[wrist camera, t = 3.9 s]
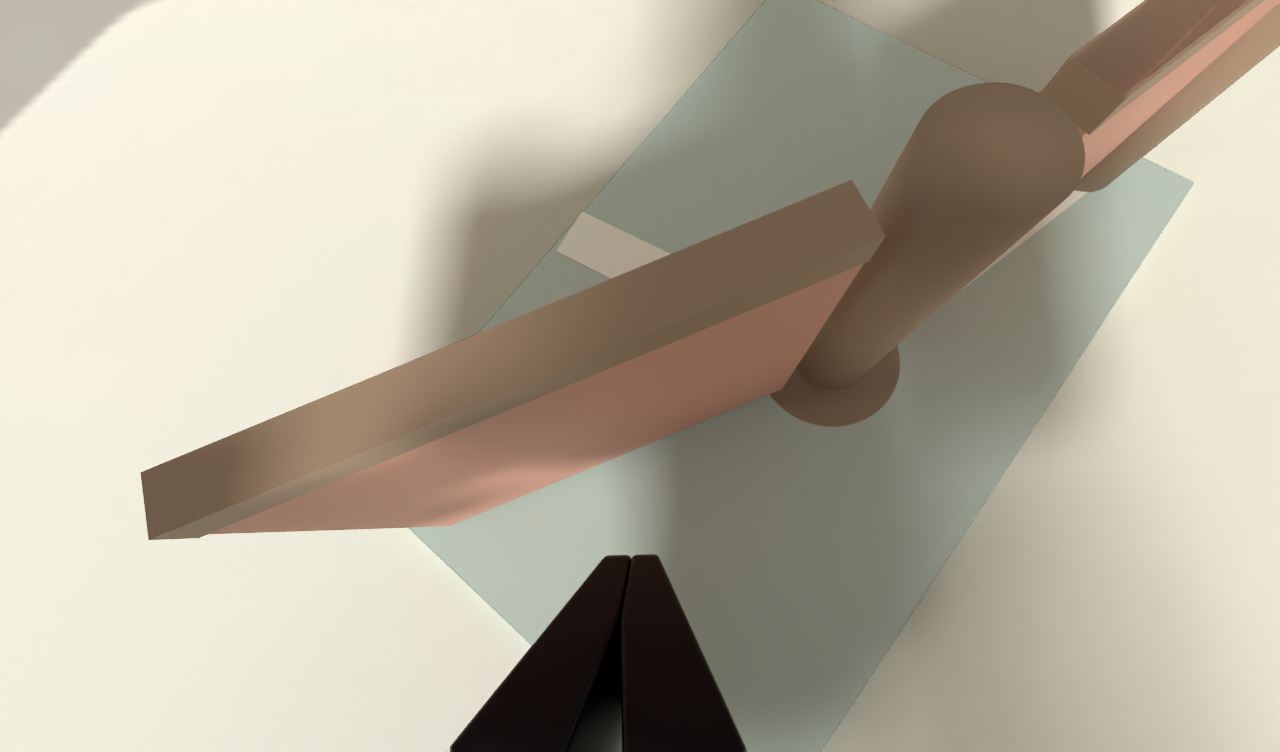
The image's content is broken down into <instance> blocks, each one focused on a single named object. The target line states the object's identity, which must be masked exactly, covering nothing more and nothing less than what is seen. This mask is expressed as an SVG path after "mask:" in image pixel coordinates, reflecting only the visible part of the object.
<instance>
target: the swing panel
mask: <svg viewBox="0 0 1280 752" xmlns="http://www.w3.org/2000/svg"><path fill="white" fill-rule="evenodd" d="M1084 165H1085V149H1084V143H1083V140H1082V137H1081V134H1080V132H1079V130H1078V128H1077V126H1076V125H1075V123H1074V122H1073V120H1072V119H1071V118H1070V116H1069V115H1068V114H1067V113H1066V112H1065V111H1064V110H1063V109H1062V108H1061V107H1060V106H1059V105H1057V104H1056V103H1055V102H1053V101H1052V100H1050V99H1049V98H1047V97H1045V96H1044V95H1042V94H1040V93H1038V92H1035V91H1033V90H1031V89H1028V88H1025V87H1021V86H1018V85H1012V84H1007V83H979V84H973V85H969V86H964V87H962V88H959V89H956V90H954V91H952V92H950V93H947V94H946V95H944V96H943V97H941V98H939V99H938V100H937V101H936V102H935V103H933V104H932V105H931V106H930V107H929V108H928V110H927V111H926V112H925V113H924V115H923V116H922V118H921V119H920V121H919V123H918V125H917V126H916V128H915V130H914V132H913V134H912V135H911V137H910V139H909V141H908V143H907V144H906V146H905V148H904V150H903V152H902V153H901V155H900V157H899V159H898V160H897V162H896V164H895V166H894V168H893V169H892V171H891V173H890V175H889V177H888V178H887V180H886V182H885V184H884V186H883V187H882V189H881V191H880V193H879V195H878V196H877V198H876V200H875V202H874V204H873V205H872V207H871V209H869V207H868V206H867V204H866V202H865V201H864V199H863V197H862V196H861V194H860V192H859V191H858V189H857V187H856V186H855V184H854V182H853V181H852V180H850V181H847V182H845V183H842V184H840V185H837V186H835V187H833V188H830V189H828V190H825V191H823V192H820V193H818V194H816V195H813V196H811V197H808V198H806V199H803V200H801V201H799V202H796V203H794V204H791V205H789V206H786V207H784V208H782V209H779V210H777V211H774V212H772V213H769V214H767V215H765V216H762V217H760V218H757V219H755V220H752V221H750V222H748V223H745V224H743V225H740V226H738V227H735V228H733V229H731V230H728V231H726V232H723V233H721V234H718V235H716V236H714V237H711V238H709V239H706V240H704V241H701V242H699V243H697V244H694V245H692V246H689V247H687V248H684V249H682V250H680V251H677V252H675V253H672V254H670V255H667V256H665V257H663V258H660V259H658V260H655V261H653V262H651V263H648V264H646V265H643V266H641V267H638V268H636V269H634V270H631V271H629V272H626V273H624V274H621V275H619V276H617V277H614V278H612V279H609V280H607V281H604V282H602V283H600V284H597V285H595V286H592V287H590V288H587V289H585V290H583V291H580V292H578V293H575V294H573V295H570V296H568V297H566V298H563V299H561V300H558V301H556V302H553V303H551V304H549V305H546V306H544V307H541V308H539V309H536V310H534V311H532V312H529V313H527V314H524V315H522V316H519V317H517V318H515V319H512V320H510V321H507V322H505V323H502V324H500V325H498V326H495V327H493V328H490V329H488V330H485V331H483V332H481V333H478V334H476V335H473V336H471V337H468V338H466V339H464V340H461V341H459V342H456V343H454V344H451V345H449V346H447V347H444V348H442V349H439V350H437V351H434V352H432V353H430V354H427V355H425V356H422V357H420V358H418V359H415V360H413V361H410V362H408V363H405V364H403V365H401V366H398V367H396V368H393V369H391V370H388V371H386V372H384V373H381V374H379V375H376V376H374V377H371V378H369V379H367V380H364V381H362V382H359V383H357V384H354V385H352V386H350V387H347V388H345V389H342V390H340V391H337V392H335V393H333V394H330V395H328V396H325V397H323V398H320V399H318V400H316V401H313V402H311V403H308V404H306V405H303V406H301V407H299V408H296V409H294V410H291V411H289V412H286V413H284V414H282V415H279V416H277V417H274V418H272V419H269V420H267V421H265V422H262V423H260V424H257V425H255V426H252V427H250V428H248V429H245V430H243V431H240V432H238V433H235V434H233V435H231V436H228V437H226V438H223V439H221V440H218V441H216V442H214V443H211V444H209V445H206V446H204V447H201V448H199V449H197V450H194V451H192V452H189V453H187V454H185V455H182V456H180V457H177V458H175V459H172V460H170V461H168V462H165V463H163V464H160V465H158V466H155V467H153V468H151V469H148V470H146V471H143V472H141V479H142V487H143V496H144V504H145V512H146V521H147V529H148V537H149V540H158V539H183V538H200V537H202V536H204V535H207V534H225V533H255V532H286V531H316V530H347V529H377V528H407V527H438V526H451V525H454V524H456V523H459V522H461V521H463V520H466V519H468V518H471V517H473V516H476V515H478V514H480V513H483V512H485V511H488V510H490V509H493V508H495V507H497V506H500V505H502V504H505V503H507V502H510V501H512V500H514V499H517V498H519V497H522V496H524V495H526V494H529V493H531V492H534V491H536V490H539V489H541V488H543V487H546V486H548V485H551V484H553V483H556V482H558V481H560V480H563V479H565V478H568V477H570V476H573V475H575V474H577V473H580V472H582V471H585V470H587V469H590V468H592V467H594V466H597V465H599V464H602V463H604V462H607V461H609V460H611V459H614V458H616V457H619V456H621V455H624V454H626V453H628V452H631V451H633V450H636V449H638V448H640V447H643V446H645V445H648V444H650V443H653V442H655V441H657V440H660V439H662V438H665V437H667V436H670V435H672V434H674V433H677V432H679V431H682V430H684V429H687V428H689V427H691V426H694V425H696V424H699V423H701V422H704V421H706V420H708V419H711V418H713V417H716V416H718V415H721V414H723V413H725V412H728V411H730V410H733V409H735V408H738V407H740V406H742V405H745V404H747V403H750V402H752V401H754V400H757V399H759V398H762V397H764V396H767V395H769V394H771V393H774V392H776V391H779V390H781V389H782V388H783V387H784V385H785V384H786V382H787V381H788V379H789V378H790V376H791V375H792V373H793V371H794V370H795V368H796V367H797V369H798V370H799V372H800V374H801V375H802V376H803V377H804V378H805V379H806V380H807V381H808V382H810V383H811V384H813V385H815V386H817V387H820V388H823V389H830V390H835V389H842V388H845V387H847V386H849V385H851V384H853V383H854V382H856V381H857V380H858V379H859V378H860V377H861V376H862V375H864V374H865V373H866V372H867V371H868V370H869V369H871V368H872V367H873V366H874V365H875V364H876V363H877V362H879V361H880V360H881V359H882V358H883V357H884V356H886V355H887V354H888V353H889V352H890V351H891V350H892V349H894V348H895V347H896V346H897V345H898V344H899V343H901V342H902V341H903V340H904V339H905V338H906V337H907V336H909V335H910V334H911V333H912V332H913V331H914V330H916V329H917V328H918V327H919V326H920V325H921V324H922V323H924V322H925V321H926V320H927V319H928V318H929V317H931V316H932V315H933V314H934V313H935V312H936V311H937V310H939V309H940V308H941V307H942V306H943V305H944V304H946V303H947V302H948V301H949V300H950V299H951V298H952V297H954V296H955V295H956V294H957V293H958V292H959V291H961V290H962V289H963V288H964V287H965V286H966V285H967V284H969V283H970V282H971V281H972V280H973V279H974V278H976V277H977V276H978V275H979V274H980V273H981V272H982V271H984V270H985V269H986V268H987V267H988V266H989V265H991V264H992V263H993V262H994V261H995V260H996V259H997V258H999V257H1000V256H1001V255H1002V254H1003V253H1004V252H1006V251H1007V250H1008V249H1009V248H1010V247H1011V246H1012V245H1014V244H1015V243H1016V242H1017V241H1018V240H1019V239H1021V238H1022V237H1023V236H1024V235H1025V234H1026V233H1027V232H1029V231H1030V230H1031V229H1032V228H1033V227H1034V226H1036V225H1037V224H1038V223H1039V222H1040V221H1041V220H1042V219H1044V218H1045V217H1046V216H1047V215H1048V214H1049V213H1051V212H1052V211H1053V210H1054V209H1055V208H1056V207H1057V206H1059V205H1060V204H1061V203H1062V202H1063V201H1064V200H1065V199H1066V198H1068V197H1069V196H1070V194H1071V193H1072V192H1073V191H1074V190H1075V188H1076V186H1077V185H1078V183H1079V181H1080V179H1081V176H1082V174H1083V171H1084Z"/></svg>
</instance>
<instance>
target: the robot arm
mask: <svg viewBox="0 0 1280 752" xmlns="http://www.w3.org/2000/svg"><path fill="white" fill-rule="evenodd" d="M450 752H747V749H746V746H745V744H744V742H743V740H742V738H741V736H740V733H739V731H738V729H737V727H736V725H735V722H734V720H733V718H732V716H731V714H730V711H729V709H728V707H727V705H726V703H725V700H724V698H723V696H722V694H721V692H720V689H719V687H718V685H717V683H716V681H715V679H714V676H713V674H712V672H711V670H710V668H709V665H708V663H707V661H706V659H705V657H704V654H703V652H702V650H701V648H700V646H699V643H698V641H697V639H696V637H695V635H694V632H693V630H692V628H691V626H690V624H689V622H688V619H687V617H686V615H685V613H684V611H683V608H682V606H681V604H680V602H679V600H678V597H677V595H676V593H675V591H674V589H673V586H672V584H671V582H670V580H669V578H668V575H667V573H666V571H665V569H664V567H663V565H662V562H661V560H660V558H659V557H658V555H655V554H639V555H634V556H633V557H632V559H631V557H630V556H629V555H608V556H605V557H604V558H603V559H602V560H601V561H600V563H599V564H598V565H597V566H596V567H595V569H594V570H593V571H592V572H591V574H590V575H589V576H588V577H587V579H586V580H585V581H584V582H583V583H582V585H581V586H580V587H579V588H578V590H577V591H576V592H575V593H574V595H573V596H572V597H571V598H570V600H569V601H568V602H567V603H566V604H565V606H564V607H563V608H562V609H561V611H560V612H559V613H558V614H557V616H556V617H555V618H554V619H553V620H552V622H551V623H550V624H549V625H548V627H547V628H546V629H545V630H544V632H543V633H542V634H541V635H540V637H539V638H538V639H537V640H536V641H535V643H534V644H533V645H532V646H531V648H530V649H529V650H528V651H527V653H526V654H525V655H524V656H523V657H522V659H521V660H520V661H519V662H518V664H517V665H516V666H515V667H514V669H513V670H512V671H511V672H510V673H509V675H508V676H507V677H506V678H505V680H504V681H503V682H502V683H501V685H500V686H499V687H498V688H497V690H496V691H495V692H494V693H493V694H492V696H491V697H490V698H489V699H488V701H487V702H486V703H485V704H484V706H483V707H482V708H481V709H480V710H479V712H478V713H477V714H476V715H475V717H474V718H473V719H472V720H471V722H470V723H469V724H468V725H467V727H466V728H465V729H464V730H463V731H462V733H461V734H460V735H459V736H458V738H457V739H456V740H455V741H454V743H453V744H452V745H451V747H450Z"/></svg>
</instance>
